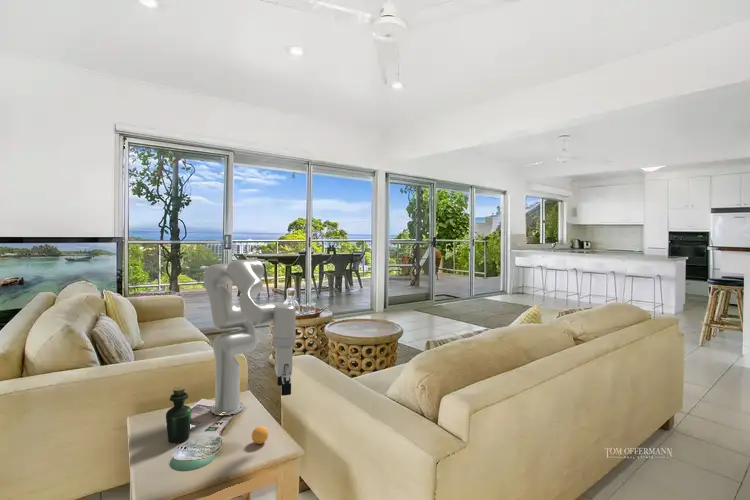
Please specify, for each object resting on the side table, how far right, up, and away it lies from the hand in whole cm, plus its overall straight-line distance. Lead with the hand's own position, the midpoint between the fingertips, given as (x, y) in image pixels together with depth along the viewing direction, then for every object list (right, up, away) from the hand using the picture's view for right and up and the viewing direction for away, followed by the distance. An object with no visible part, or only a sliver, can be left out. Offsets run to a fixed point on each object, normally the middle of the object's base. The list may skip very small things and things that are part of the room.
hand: (284, 389), depth 137 cm
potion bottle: (-37, -17, 0) cm, 41 cm away
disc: (-26, -18, -12) cm, 34 cm away
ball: (-8, -15, -1) cm, 17 cm away
